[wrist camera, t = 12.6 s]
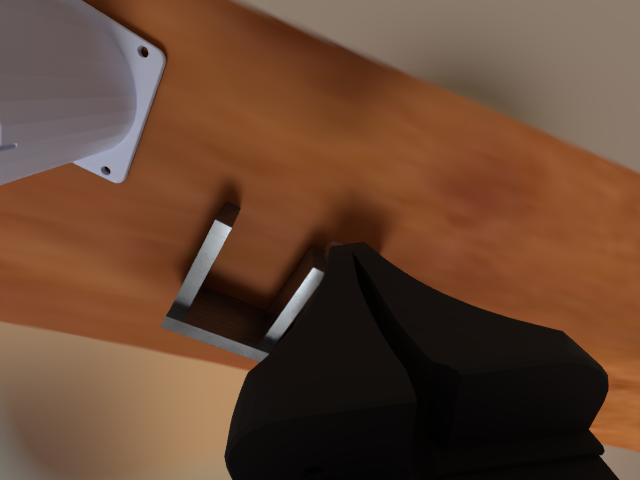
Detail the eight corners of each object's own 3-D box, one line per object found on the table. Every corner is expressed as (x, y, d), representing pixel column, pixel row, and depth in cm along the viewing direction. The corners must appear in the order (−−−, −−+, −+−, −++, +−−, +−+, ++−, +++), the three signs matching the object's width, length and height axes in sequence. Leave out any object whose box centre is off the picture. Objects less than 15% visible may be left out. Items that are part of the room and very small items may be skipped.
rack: (182, 289, 22) (154, 337, 18) (226, 201, 19) (206, 233, 15) (392, 373, 28) (409, 424, 24) (450, 316, 25) (481, 362, 21)
